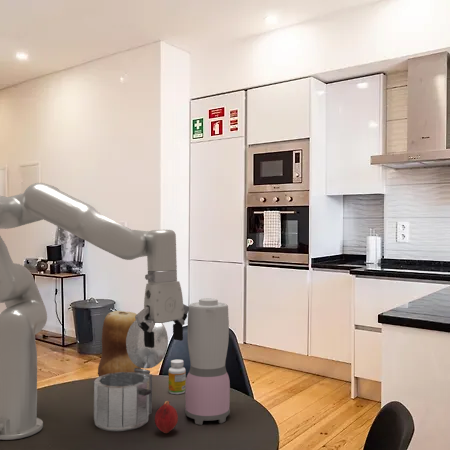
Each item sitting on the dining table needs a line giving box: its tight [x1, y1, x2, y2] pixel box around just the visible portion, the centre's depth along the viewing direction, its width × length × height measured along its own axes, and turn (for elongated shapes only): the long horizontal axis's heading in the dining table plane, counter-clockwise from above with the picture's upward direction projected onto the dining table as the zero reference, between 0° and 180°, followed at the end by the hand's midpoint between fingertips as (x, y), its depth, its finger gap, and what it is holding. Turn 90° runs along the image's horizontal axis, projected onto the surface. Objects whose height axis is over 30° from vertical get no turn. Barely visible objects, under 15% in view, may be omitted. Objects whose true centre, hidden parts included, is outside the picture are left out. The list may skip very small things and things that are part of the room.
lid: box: [126, 318, 169, 374], centre depth 141 cm, size 16×15×2 cm
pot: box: [93, 372, 153, 432], centre depth 134 cm, size 16×18×11 cm
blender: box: [184, 298, 231, 426], centre depth 138 cm, size 16×12×32 cm
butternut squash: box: [97, 310, 142, 377], centre depth 158 cm, size 14×13×25 cm
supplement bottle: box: [167, 359, 187, 395], centre depth 157 cm, size 5×5×10 cm
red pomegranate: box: [154, 400, 179, 434], centre depth 125 cm, size 6×6×8 cm
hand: (164, 343), depth 129 cm, fingers open, 9 cm apart
